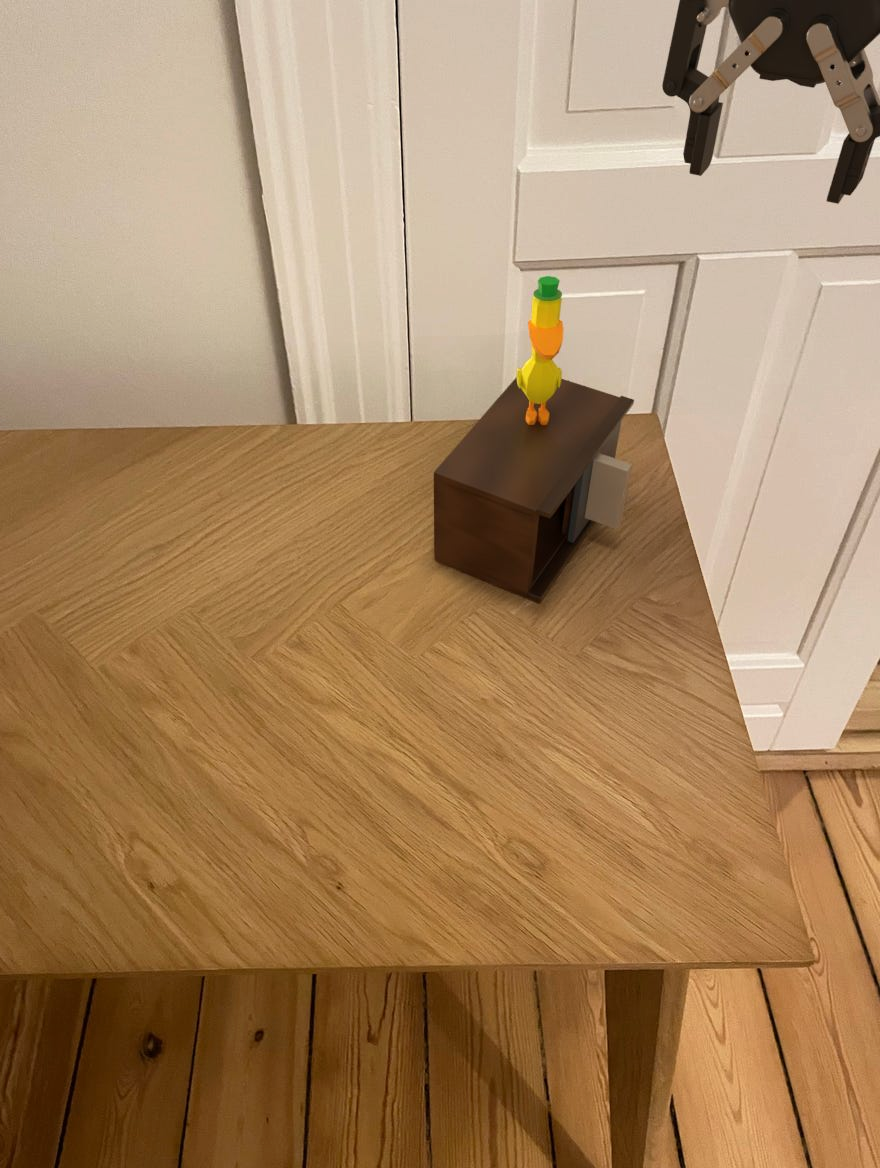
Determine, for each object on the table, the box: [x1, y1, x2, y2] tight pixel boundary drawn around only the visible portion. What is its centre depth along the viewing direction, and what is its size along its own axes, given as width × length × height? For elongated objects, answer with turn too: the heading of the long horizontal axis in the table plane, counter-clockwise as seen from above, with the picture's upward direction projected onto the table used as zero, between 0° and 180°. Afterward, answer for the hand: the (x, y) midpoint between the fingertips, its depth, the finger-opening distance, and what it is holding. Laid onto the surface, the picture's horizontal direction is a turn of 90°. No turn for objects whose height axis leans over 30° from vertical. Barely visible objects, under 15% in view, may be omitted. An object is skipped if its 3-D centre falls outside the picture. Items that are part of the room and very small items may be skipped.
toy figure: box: [516, 275, 564, 425], centre depth 76 cm, size 7×4×12 cm, turn 179°
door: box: [567, 421, 633, 543], centre depth 82 cm, size 4×8×8 cm, turn 149°
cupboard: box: [433, 376, 635, 604], centre depth 83 cm, size 10×16×10 cm, turn 149°
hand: (765, 183), depth 60 cm, fingers open, 8 cm apart
